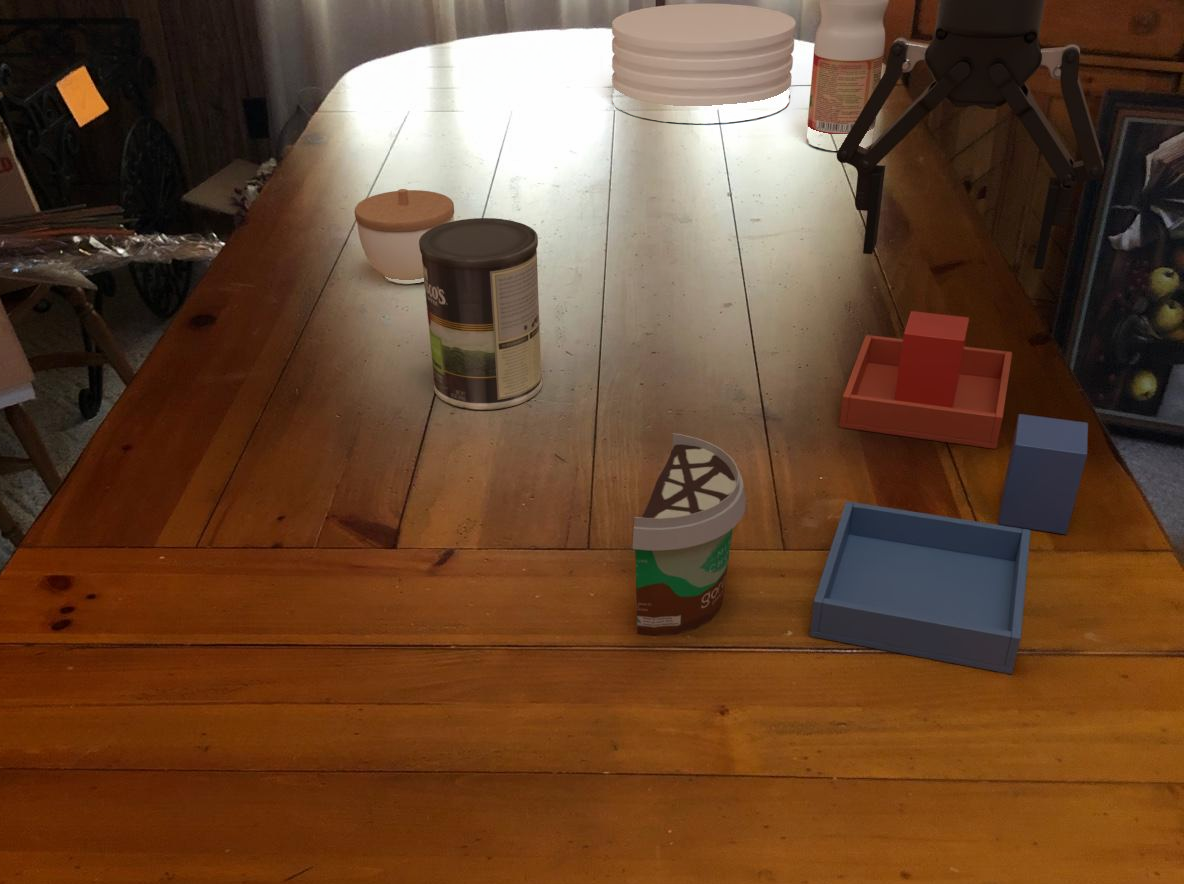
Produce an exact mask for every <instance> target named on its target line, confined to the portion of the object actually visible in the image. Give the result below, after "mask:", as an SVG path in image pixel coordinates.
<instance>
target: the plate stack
mask: <svg viewBox="0 0 1184 884" xmlns="http://www.w3.org/2000/svg"><path fill="white" fill-rule="evenodd" d="M796 26H797V23H796V19H795V18H794V17H792V16H791V15H789V14H787V13H785V12H782V11H778V10H775V9H770V8H766V7H760V6H754V5H753V6H752V5H746V4H745V5H744V4H733V3H680V4H668V5H658V6H651V7H650V6H649V7H645V8H640V9H635V10H631V11H628V12H625V13H623V14H620V15H619V16H617V17H615V18H614V19H613V20H612V23H611V33H612V35H613V36H614V37H613V38H612V41H611V51H612V54H613V56H612V58H611V68H612V70H613V73H612V75H611V76H612V77H611V78H612V79H611V80H612V81H611V82H612V83H613V85H612V87H613V86H614V88H615V89H616V90H617V91H619V92H620V93H622V94H624V95H625V96H628V97H630V98H633V99H636V100H640V101H644V102H649V103H655V104H663V105H673V106H712V105H723V104H737V103H747V102H754V101H760V100H765V99H768V98H771V97H774V96H777V95H779V94H781V93H783V92H784V91H786V90H787V89H788V88H789V87H790V88H791V86H792V78H793V76H792V73H791V71H792V69H793V63H794V57H793V55H792V54H793V52H794V49H795V39H794V35H795V33H796ZM612 83H611V84H612ZM790 85H791V86H790ZM614 88H613V89H614ZM790 88H789V89H790Z"/></svg>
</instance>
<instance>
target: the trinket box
mask: <svg viewBox="0 0 1184 884" xmlns="http://www.w3.org/2000/svg"><path fill="white" fill-rule="evenodd" d="M454 203H455V202H454V201H453V200H452V198H450V197H449V196H447V195H446V194H442V193H440V192H436V191H429V190H423V189H422V190H421V189H420V190H418V189H406V188H400V189H398V190H394V191H392V190H391V191H387V192H382V193H378V194H375V195H372V196H369V197H366V198H364V199H363V200H361V201H359V202H358V203H357V204H356V206H355V208H354V218H355V220H356V224H357V231H358V237H359V241H360V244H361V248H362V250H363V253H364V256H365V257H366V259H367V261H368V262H369V264H370V265H371V267H373V268H374V270H376V272H378V273H379V274H381V276H383V277H384V276H386V277H388V278H391V279H399V280H415V279H421V278H424V274H423V263H422V254H421V252H420V247H419V240H420V238H421V236H422V235H423V234H424V233H425V232H427V231H428V230H430V229H432V228H434V227H436V226H439V225H442V224H445V223H448V222H453V221H455V217H454V214H455V204H454Z"/></svg>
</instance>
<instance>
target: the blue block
mask: <svg viewBox="0 0 1184 884" xmlns="http://www.w3.org/2000/svg"><path fill="white" fill-rule="evenodd" d="M1088 437H1089V423H1088V422H1085V421H1076V420H1069V419H1062V418H1061V419H1060V418H1052V417H1047V416H1038V415H1030V414H1023V413H1019V414H1018V416H1017V421H1016V424H1015V430H1014V435H1013V440H1012V443H1011V448H1010V449H1011V450H1010V452H1009V457H1008V461H1007V463H1008V464H1007V467H1006V472H1005V476H1004V480H1003V486H1002V491H1001V497H1000V503H999V504H1000V505H999V511H998V519H997V525H1002V526H1008V527H1015V528H1021V529H1027V530H1031V531H1032V530H1034V531H1038V532H1039V531H1040V532H1046V533H1051V534H1058V535H1065V536H1066V535H1067V534H1068V530H1069V526H1070V523H1071V519H1072V516H1073V511H1074V507H1075V505H1076V499H1077V496H1078V492H1079V489H1080V488H1079V487H1080V484H1081V480H1082V477H1083V473H1084V469H1085V464H1086V462H1087V457H1088V444H1089V443H1088V440H1089V439H1088Z"/></svg>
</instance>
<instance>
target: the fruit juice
mask: <svg viewBox="0 0 1184 884" xmlns="http://www.w3.org/2000/svg"><path fill="white" fill-rule="evenodd" d="M889 2H890V0H819V8H820V15H821V17H820V23H819V24H818V27H817V29H816V32H815V38H814V45H813V55H812V56H813V58H812V69H811V80H810V93H809V104H808V113H807V114H808V115H807V125H808V127H810V128H811V129H813V130H816V131H819V132H823V133H828V134H848V133H849V132H850V130H851V128H852V127H853V125H854V123H855V122H856V120H857V118H858V117H859V115H860V113H861V112H862V110H863V108H864V107H865V105H866V103H867V102H868V100H869V98H870V97H871V95H872V93H873V92H874V90H875V88H876V87H877V85H878V83H879V81H880V80H881V78H882V71H883V63H884V55H885V47H886V29H885V25H884V16H885V14H886V11H887V8H888V5H889ZM876 122H877V117H876V118H875V120H874V121H873V123H872V125H871V126H870V128H869V129H868V131H869V130H871V129H873V128H874V127H875V128H876Z"/></svg>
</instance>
